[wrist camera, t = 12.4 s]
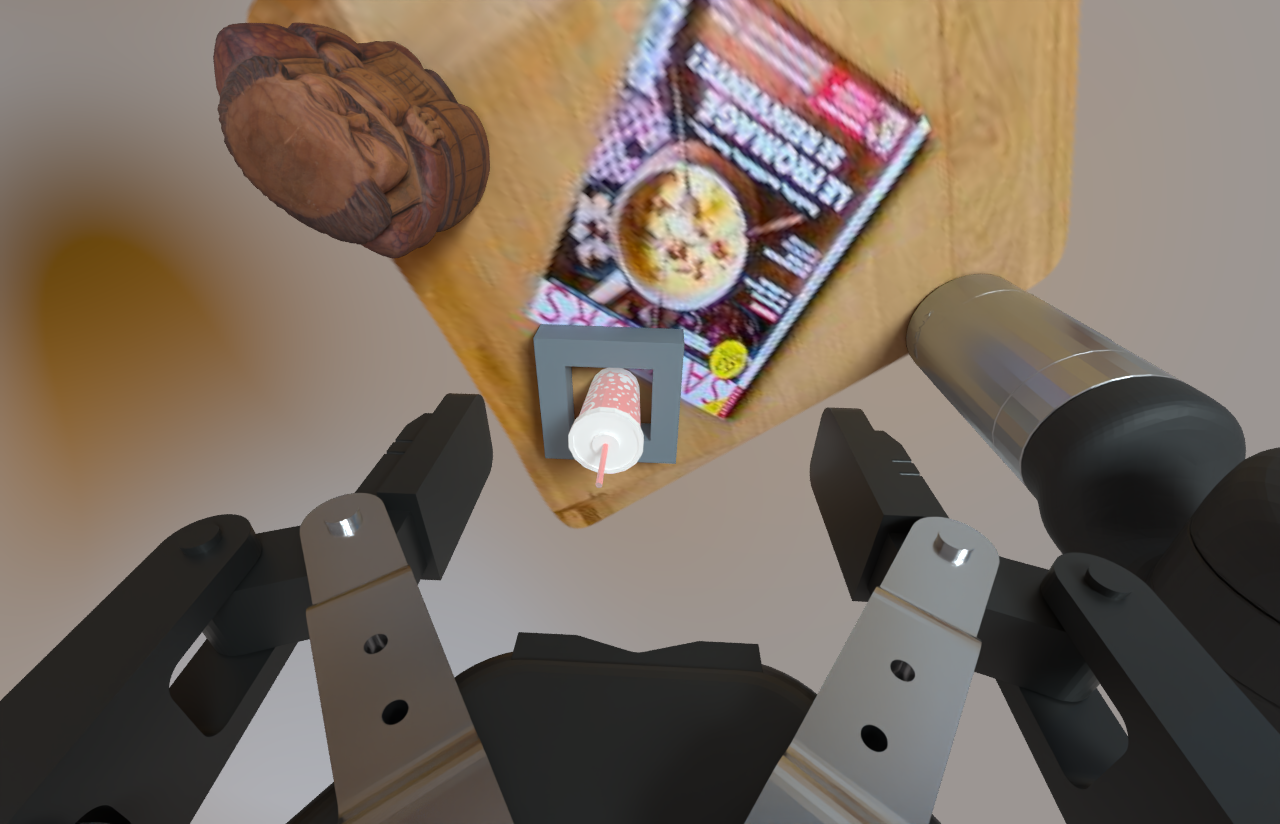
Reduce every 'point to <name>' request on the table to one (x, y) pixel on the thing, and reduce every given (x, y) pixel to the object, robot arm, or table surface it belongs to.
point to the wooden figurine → (348, 134)
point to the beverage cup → (608, 424)
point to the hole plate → (609, 350)
